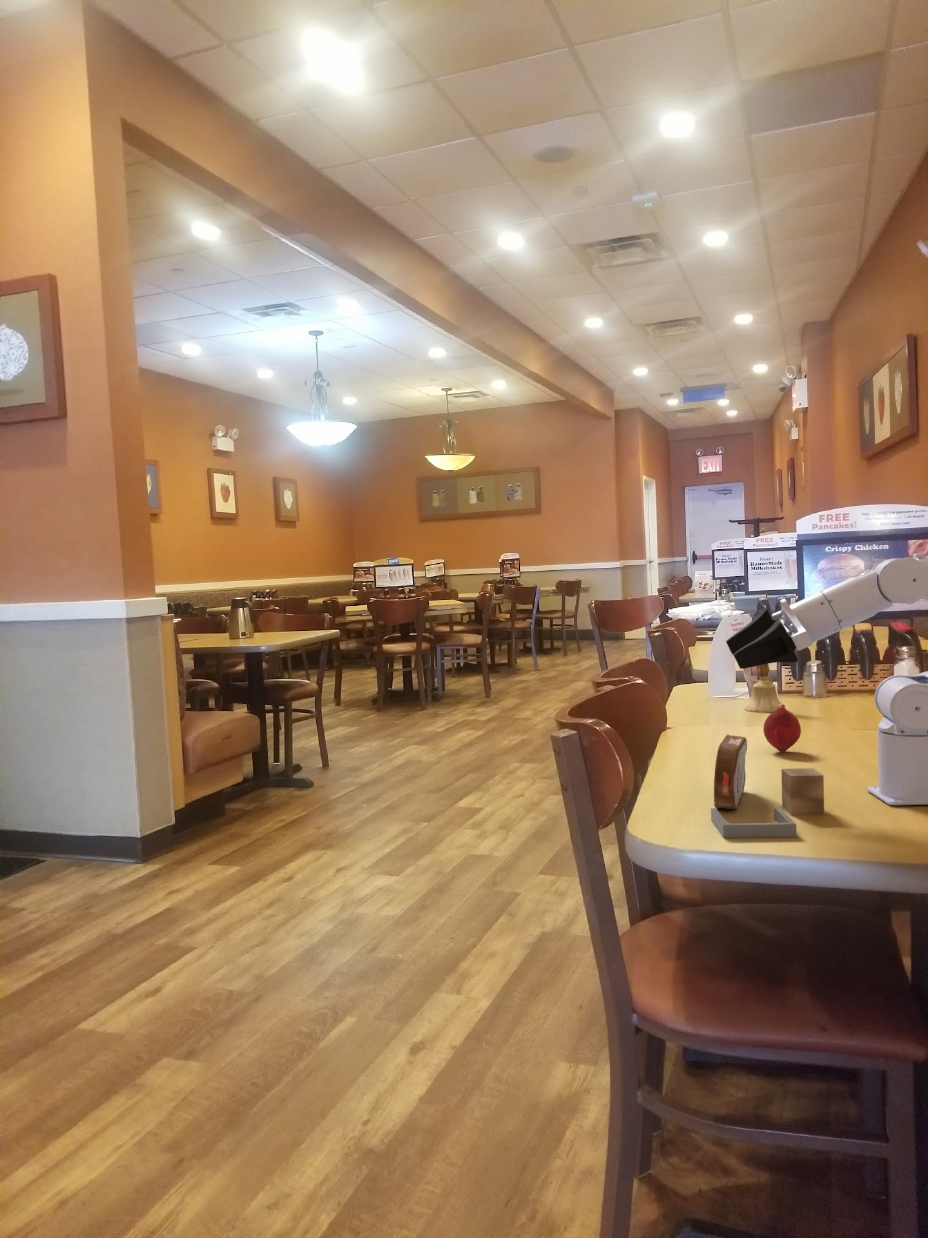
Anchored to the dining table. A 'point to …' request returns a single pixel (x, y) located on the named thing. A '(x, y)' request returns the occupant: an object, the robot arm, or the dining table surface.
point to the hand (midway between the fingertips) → (732, 654)
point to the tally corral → (755, 826)
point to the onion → (782, 729)
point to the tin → (730, 772)
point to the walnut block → (803, 791)
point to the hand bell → (763, 695)
